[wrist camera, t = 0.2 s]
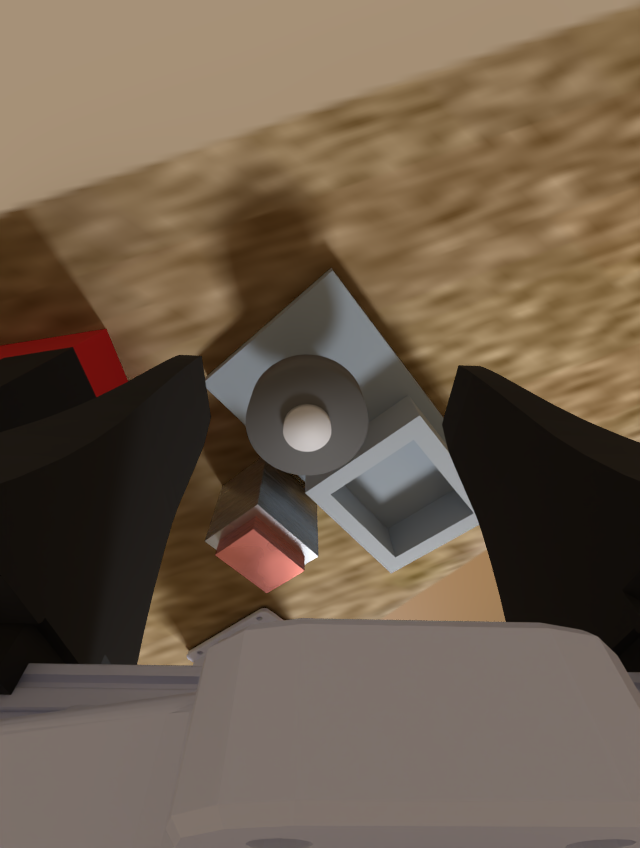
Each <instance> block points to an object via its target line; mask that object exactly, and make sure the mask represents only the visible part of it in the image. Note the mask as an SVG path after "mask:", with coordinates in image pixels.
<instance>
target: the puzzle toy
mask: <svg viewBox="0 0 640 848" xmlns="http://www.w3.org/2000/svg"><path fill="white" fill-rule="evenodd" d="M126 382H128V380H127V378H126V375H125V373H124V370H123V368H122V366H121V363H120V361H119V358H118V356H117V354H116V351H115V349H114V346H113V344H112V342H111V339H110V337H109V334H108V332H107V330H106V329H102V330H95V331H89V332H83V333H77V334H70V335H64V336H58V337H52V338H45V339H39V340H33V341H26V342H20V343H14V344H8V345H1V346H0V432H3V431H7V430H10V429H13V428H16V427H19V426H22V425H26V424H29V423H32V422H35V421H38V420H41V419H44V418H47V417H50V416H53V415H55V414H58V413H60V412H63V411H66V410H68V409H71V408H73V407H76V406H78V405H80V404H83V403H85V402H87V401H90V400H92V399H94V398H96V397H98V396H100V395H102V394H104V393H106V392H108V391H110V390H112V389H114V388H116V387H118V386H120V385H122V384H124V383H126Z"/></svg>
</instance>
